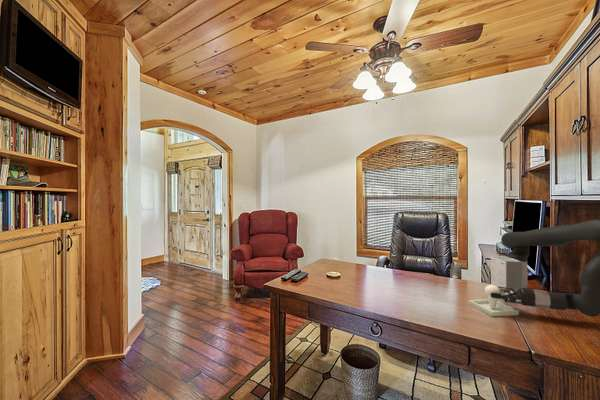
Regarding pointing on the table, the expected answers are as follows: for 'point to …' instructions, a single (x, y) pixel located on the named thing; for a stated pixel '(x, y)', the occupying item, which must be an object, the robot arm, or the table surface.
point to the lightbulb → (488, 291)
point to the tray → (498, 311)
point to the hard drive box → (506, 272)
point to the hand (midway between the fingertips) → (489, 292)
